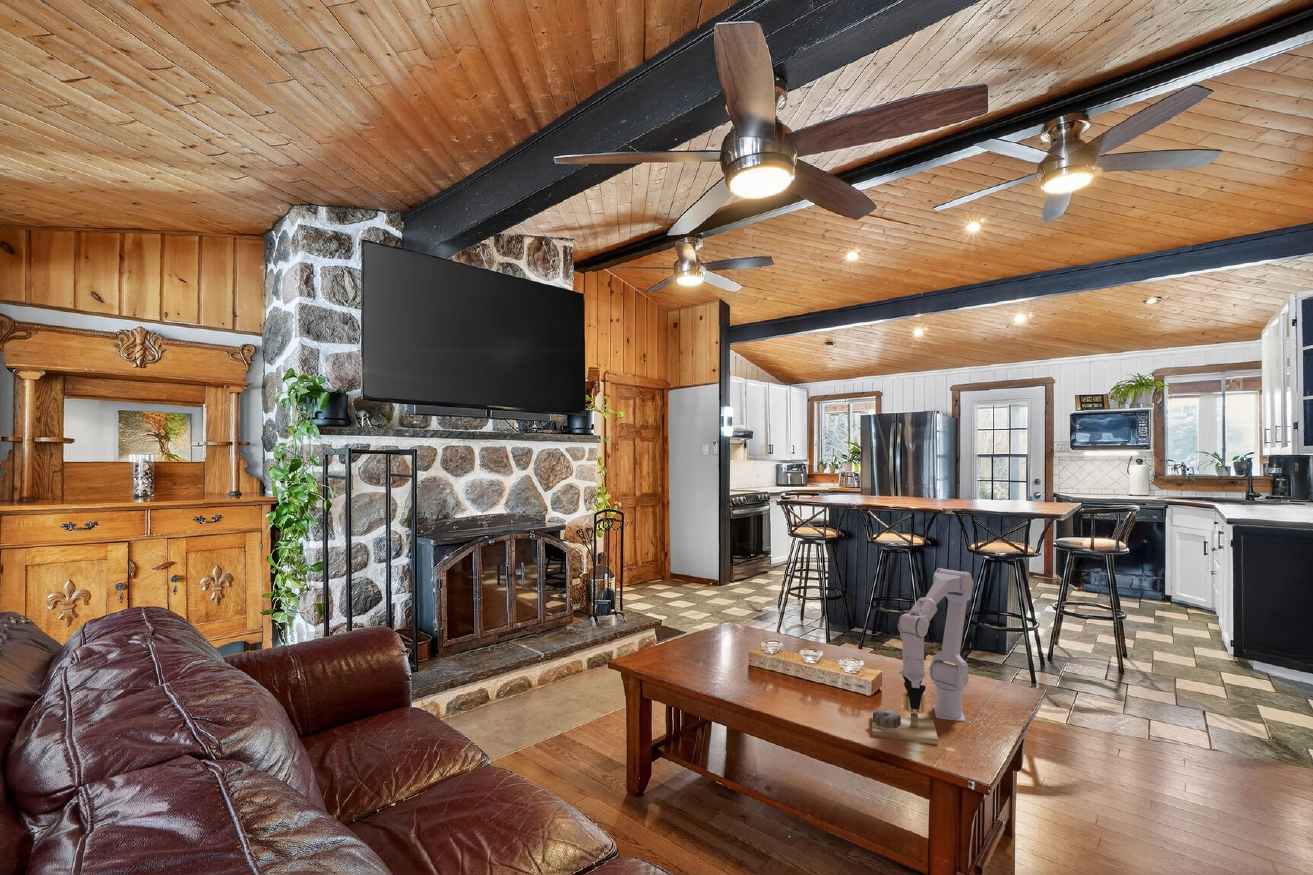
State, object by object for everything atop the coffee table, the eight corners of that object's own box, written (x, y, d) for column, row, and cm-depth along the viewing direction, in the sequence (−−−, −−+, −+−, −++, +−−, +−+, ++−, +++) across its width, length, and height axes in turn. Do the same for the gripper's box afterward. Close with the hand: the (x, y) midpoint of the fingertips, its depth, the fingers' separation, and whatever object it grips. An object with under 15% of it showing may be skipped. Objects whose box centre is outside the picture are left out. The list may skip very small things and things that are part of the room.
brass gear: (902, 704, 178) (902, 690, 178) (924, 706, 176) (923, 692, 176) (904, 711, 173) (904, 697, 173) (926, 714, 171) (925, 700, 171)
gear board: (871, 717, 184) (871, 700, 184) (933, 725, 179) (932, 707, 179) (872, 735, 172) (872, 717, 172) (938, 744, 166) (937, 726, 166)
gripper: (897, 647, 183) (897, 693, 183) (899, 663, 169) (900, 712, 169) (922, 650, 181) (923, 696, 180) (927, 665, 167) (928, 715, 167)
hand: (914, 704), depth 174 cm, fingers closed on brass gear, 6 cm apart
